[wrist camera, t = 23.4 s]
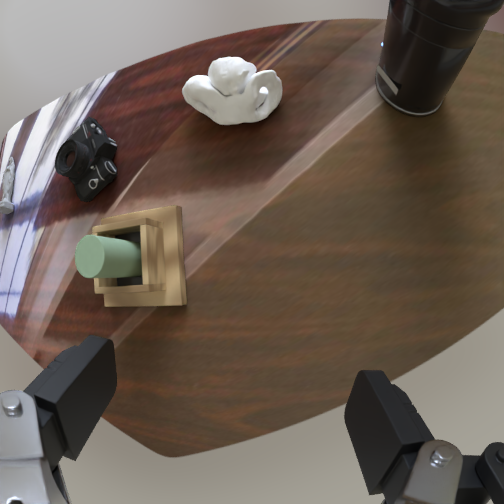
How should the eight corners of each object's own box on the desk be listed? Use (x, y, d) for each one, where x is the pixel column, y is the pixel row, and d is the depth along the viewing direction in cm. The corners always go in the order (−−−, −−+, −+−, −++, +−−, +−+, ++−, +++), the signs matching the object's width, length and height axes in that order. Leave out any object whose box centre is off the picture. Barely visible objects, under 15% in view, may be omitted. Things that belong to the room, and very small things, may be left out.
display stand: (107, 220, 41) (82, 214, 36) (181, 207, 38) (160, 197, 33) (111, 305, 40) (85, 309, 35) (187, 304, 37) (165, 309, 32)
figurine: (7, 215, 48) (-6, 211, 44) (14, 163, 50) (2, 158, 47) (14, 210, 47) (1, 205, 43) (22, 156, 49) (10, 151, 46)
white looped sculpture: (183, 107, 40) (179, 52, 33) (266, 99, 42) (270, 47, 35) (188, 139, 35) (182, 74, 28) (285, 129, 37) (293, 68, 30)
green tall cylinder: (121, 243, 38) (74, 237, 29) (149, 240, 37) (103, 232, 28) (123, 278, 38) (75, 279, 29) (151, 276, 37) (105, 277, 28)
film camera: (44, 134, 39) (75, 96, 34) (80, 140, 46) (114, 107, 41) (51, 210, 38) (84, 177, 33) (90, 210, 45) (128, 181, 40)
